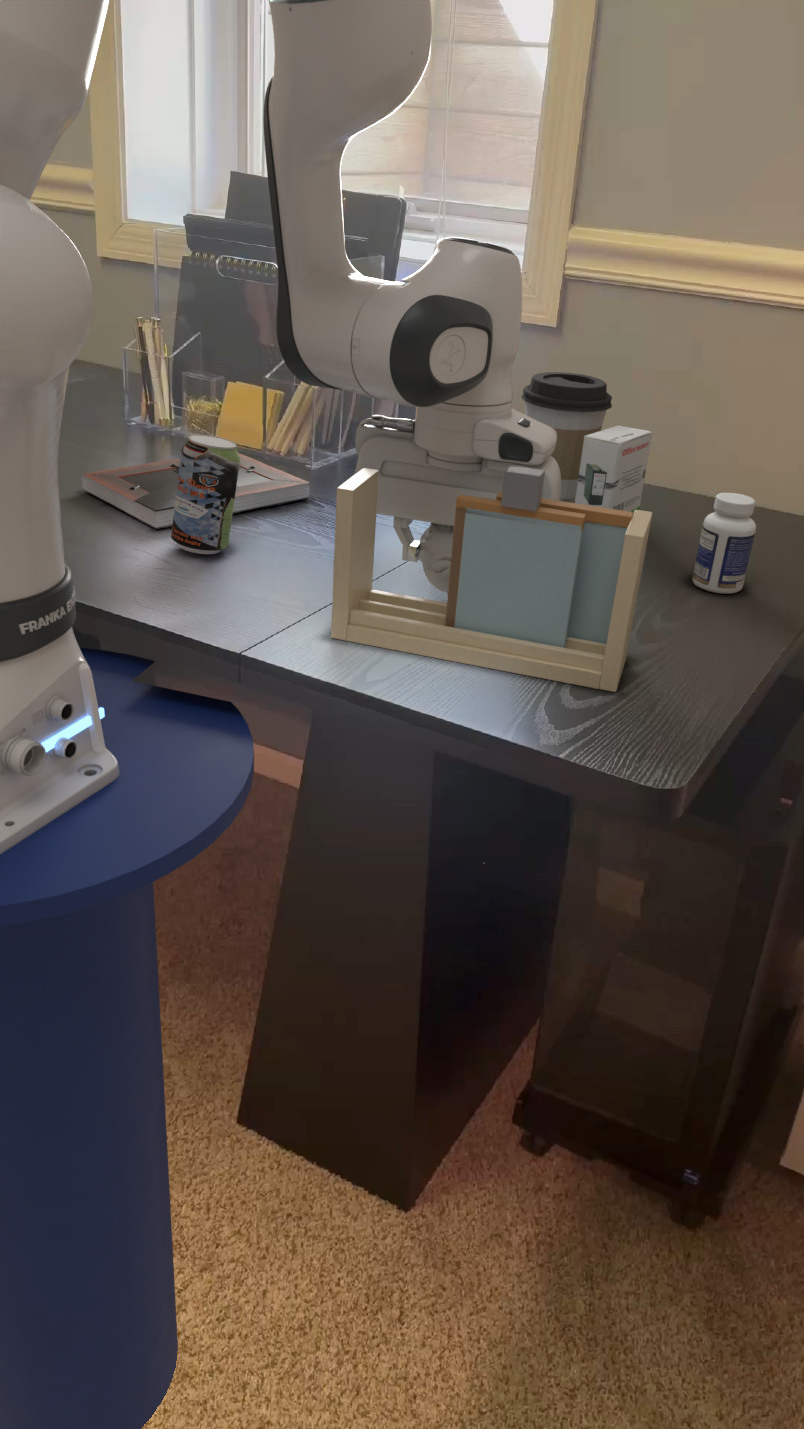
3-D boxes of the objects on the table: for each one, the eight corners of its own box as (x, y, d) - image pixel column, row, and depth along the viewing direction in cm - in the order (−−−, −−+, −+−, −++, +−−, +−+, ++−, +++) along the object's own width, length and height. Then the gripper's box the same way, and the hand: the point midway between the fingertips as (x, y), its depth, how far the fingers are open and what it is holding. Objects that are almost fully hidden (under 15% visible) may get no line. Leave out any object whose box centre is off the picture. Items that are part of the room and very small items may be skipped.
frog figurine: (455, 574, 113) (461, 509, 110) (490, 598, 108) (497, 531, 105) (403, 580, 111) (408, 514, 107) (436, 606, 105) (442, 537, 102)
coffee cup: (613, 499, 143) (632, 383, 136) (566, 517, 135) (584, 394, 128) (541, 479, 149) (556, 366, 142) (492, 494, 141) (505, 376, 134)
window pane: (561, 658, 95) (588, 483, 87) (442, 636, 97) (458, 464, 90) (565, 650, 96) (592, 477, 89) (448, 628, 99) (464, 458, 91)
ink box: (602, 517, 136) (618, 422, 130) (638, 527, 133) (655, 430, 128) (568, 532, 130) (582, 433, 124) (604, 543, 127) (621, 442, 122)
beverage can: (161, 546, 117) (156, 434, 111) (219, 535, 121) (218, 427, 115) (191, 564, 113) (188, 449, 107) (251, 552, 117) (251, 441, 111)
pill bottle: (745, 583, 119) (765, 496, 114) (737, 599, 114) (758, 509, 110) (696, 572, 120) (714, 487, 116) (686, 588, 116) (704, 499, 111)
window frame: (615, 692, 93) (644, 534, 86) (330, 638, 99) (336, 485, 92) (625, 660, 99) (653, 509, 92) (356, 610, 105) (363, 465, 98)
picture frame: (156, 531, 121) (309, 500, 134) (155, 510, 119) (310, 480, 133) (82, 492, 131) (232, 467, 144) (81, 472, 130) (231, 448, 143)
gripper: (345, 418, 101) (339, 559, 108) (562, 449, 97) (542, 594, 103) (367, 405, 107) (360, 539, 113) (573, 434, 102) (554, 572, 109)
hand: (448, 566), depth 108 cm, fingers closed on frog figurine, 6 cm apart
